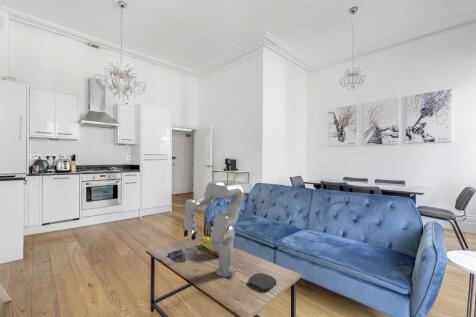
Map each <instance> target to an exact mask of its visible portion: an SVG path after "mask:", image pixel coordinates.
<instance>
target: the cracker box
mask: <svg viewBox="0 0 476 317" xmlns="http://www.w3.org/2000/svg"><path fill="white" fill-rule="evenodd" d="M212 229H213V226H211V227H210V229H209V230H210V231H209V232H210V233H209V234H210V237H209V238H210V250H209V253H210V254H211V255H215V256H218V257H219V244H216V243H214V242H213V241H212V238H211V233H212Z"/></svg>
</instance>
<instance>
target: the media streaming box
mask: <svg viewBox="0 0 476 317" xmlns="http://www.w3.org/2000/svg"><path fill="white" fill-rule="evenodd" d="M247 284H248V286H249V287H251V288H252V289H256V290H258V291H260V292H262V293H268V292H270V291H271V290H272V289H273V288H274V287H275V286H276V285H277V280H276V278H275V277H273V276H272V275H269V274H267V273H263V272H260V273H259V272H257V273H255V274H253V275H251V276H250V277H249V278H248V281H247Z"/></svg>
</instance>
